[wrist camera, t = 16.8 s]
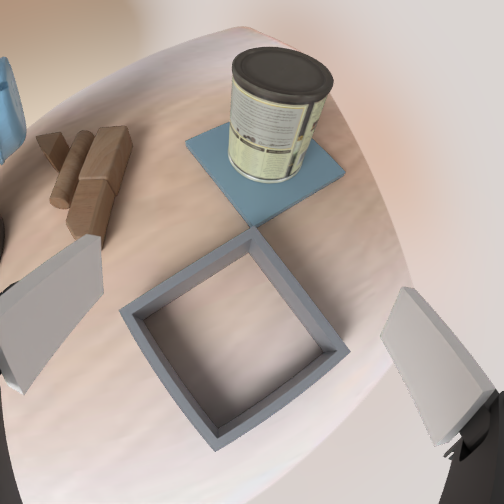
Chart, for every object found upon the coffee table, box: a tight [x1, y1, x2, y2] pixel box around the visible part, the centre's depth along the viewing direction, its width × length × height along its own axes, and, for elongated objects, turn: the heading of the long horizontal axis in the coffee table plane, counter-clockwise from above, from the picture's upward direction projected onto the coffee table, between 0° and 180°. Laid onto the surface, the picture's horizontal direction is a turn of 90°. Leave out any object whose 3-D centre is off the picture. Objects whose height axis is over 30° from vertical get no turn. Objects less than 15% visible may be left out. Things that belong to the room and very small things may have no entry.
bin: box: [119, 226, 351, 452], centre depth 27 cm, size 16×16×4 cm
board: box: [185, 122, 345, 228], centre depth 37 cm, size 16×16×1 cm
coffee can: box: [228, 47, 334, 183], centre depth 30 cm, size 10×10×14 cm
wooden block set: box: [36, 126, 133, 250], centre depth 31 cm, size 17×6×18 cm
